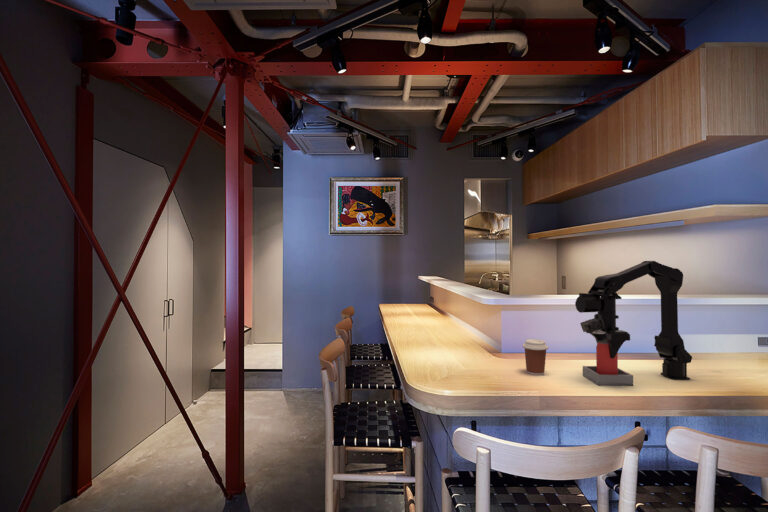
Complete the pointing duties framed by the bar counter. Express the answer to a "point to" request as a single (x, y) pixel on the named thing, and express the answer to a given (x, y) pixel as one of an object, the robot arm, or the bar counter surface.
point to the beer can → (605, 360)
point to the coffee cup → (535, 356)
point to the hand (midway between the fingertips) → (606, 355)
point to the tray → (608, 377)
